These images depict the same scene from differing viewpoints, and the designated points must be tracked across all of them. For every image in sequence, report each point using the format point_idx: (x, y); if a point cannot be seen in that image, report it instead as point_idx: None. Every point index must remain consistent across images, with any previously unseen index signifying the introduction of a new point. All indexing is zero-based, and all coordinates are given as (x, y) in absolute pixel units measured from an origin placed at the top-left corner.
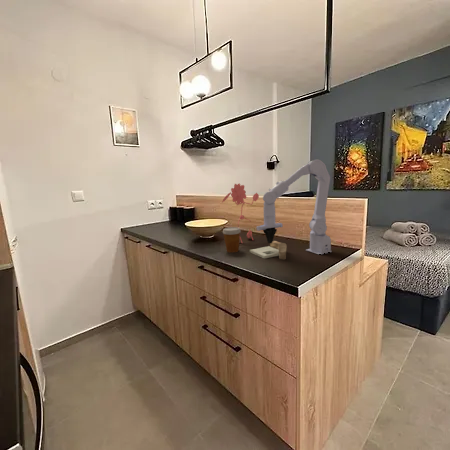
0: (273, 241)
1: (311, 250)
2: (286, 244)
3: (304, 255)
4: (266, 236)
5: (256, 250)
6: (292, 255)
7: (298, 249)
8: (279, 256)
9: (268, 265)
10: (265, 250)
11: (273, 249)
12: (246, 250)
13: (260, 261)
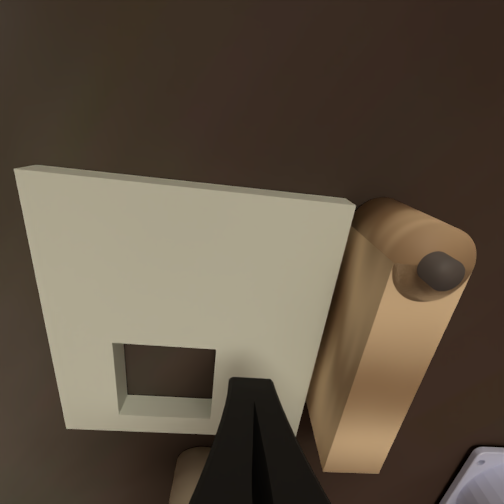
0: (416, 300)
1: (466, 491)
2: (378, 472)
3: (360, 490)
4: (199, 494)
5: (92, 253)
6: (306, 458)
7: (480, 398)
8: (173, 481)
9: (32, 497)
10: (185, 318)
11: (279, 342)
12: (29, 42)
13: (16, 432)
